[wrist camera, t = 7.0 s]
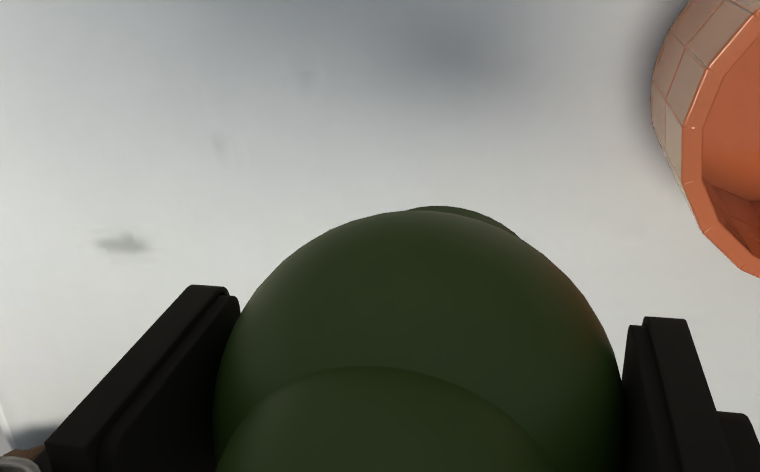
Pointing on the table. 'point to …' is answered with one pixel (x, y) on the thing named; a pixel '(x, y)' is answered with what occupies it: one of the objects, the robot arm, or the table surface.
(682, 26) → the pot
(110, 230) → the table surface
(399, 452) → the avocado
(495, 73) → the table surface
